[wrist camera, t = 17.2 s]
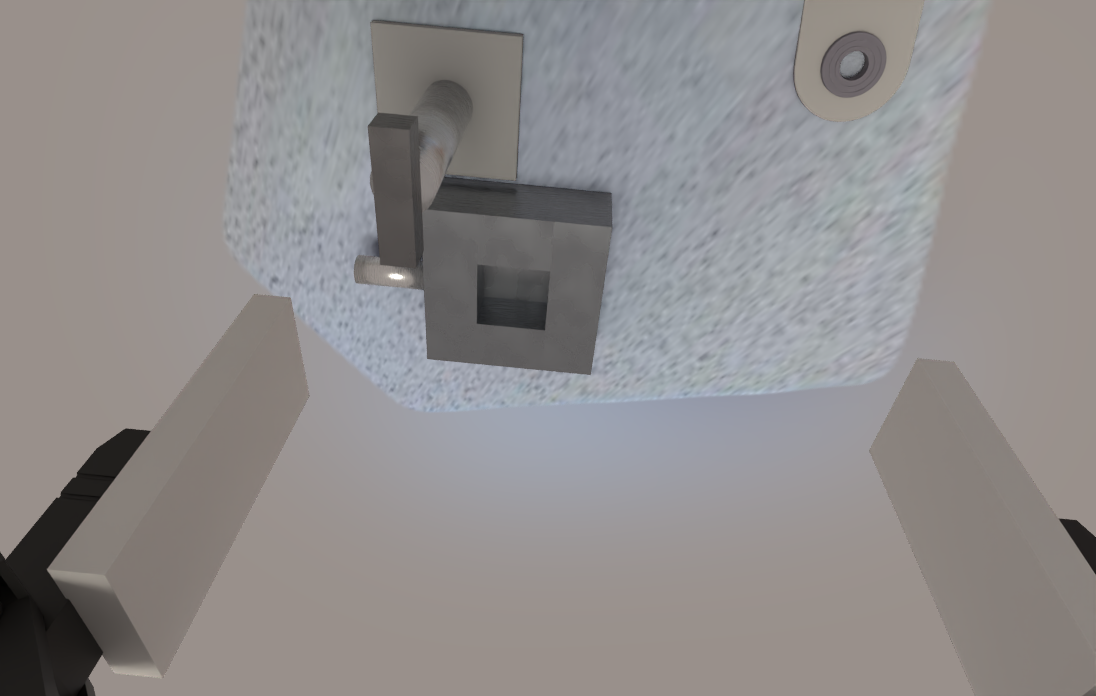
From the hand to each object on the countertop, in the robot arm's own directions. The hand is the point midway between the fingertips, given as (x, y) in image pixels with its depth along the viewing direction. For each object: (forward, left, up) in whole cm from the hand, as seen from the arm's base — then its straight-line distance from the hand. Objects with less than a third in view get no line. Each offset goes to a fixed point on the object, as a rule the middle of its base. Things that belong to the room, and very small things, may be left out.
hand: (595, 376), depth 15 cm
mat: (+5, -9, -32) cm, 33 cm away
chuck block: (+16, -7, -32) cm, 36 cm away
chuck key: (+5, -9, -31) cm, 33 cm away
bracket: (-2, +15, -32) cm, 36 cm away
